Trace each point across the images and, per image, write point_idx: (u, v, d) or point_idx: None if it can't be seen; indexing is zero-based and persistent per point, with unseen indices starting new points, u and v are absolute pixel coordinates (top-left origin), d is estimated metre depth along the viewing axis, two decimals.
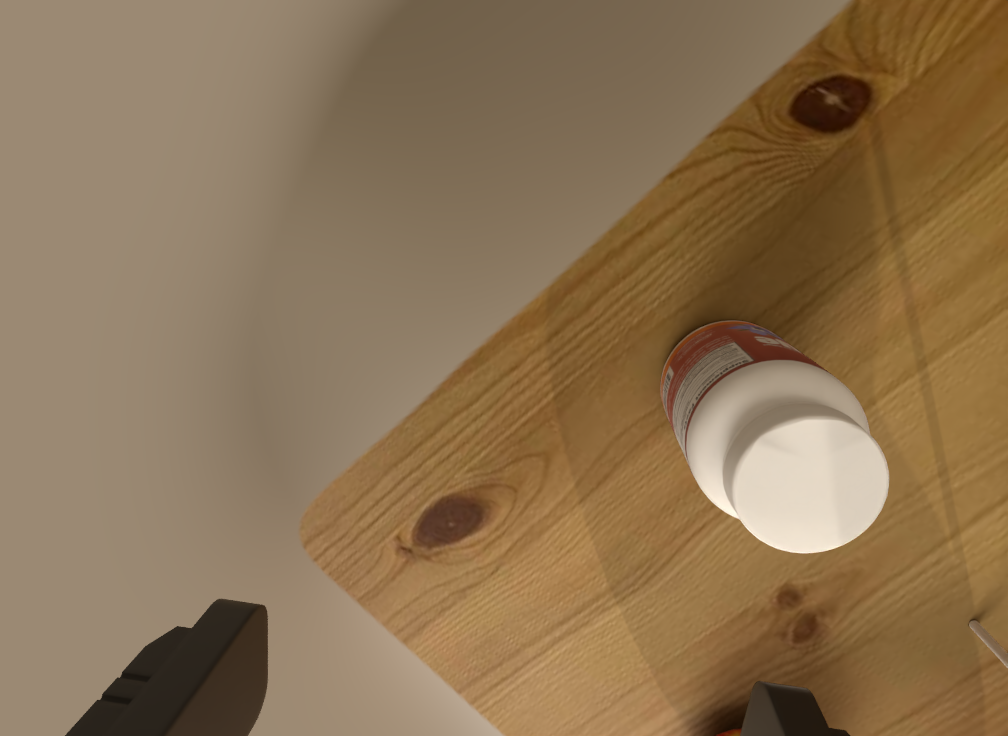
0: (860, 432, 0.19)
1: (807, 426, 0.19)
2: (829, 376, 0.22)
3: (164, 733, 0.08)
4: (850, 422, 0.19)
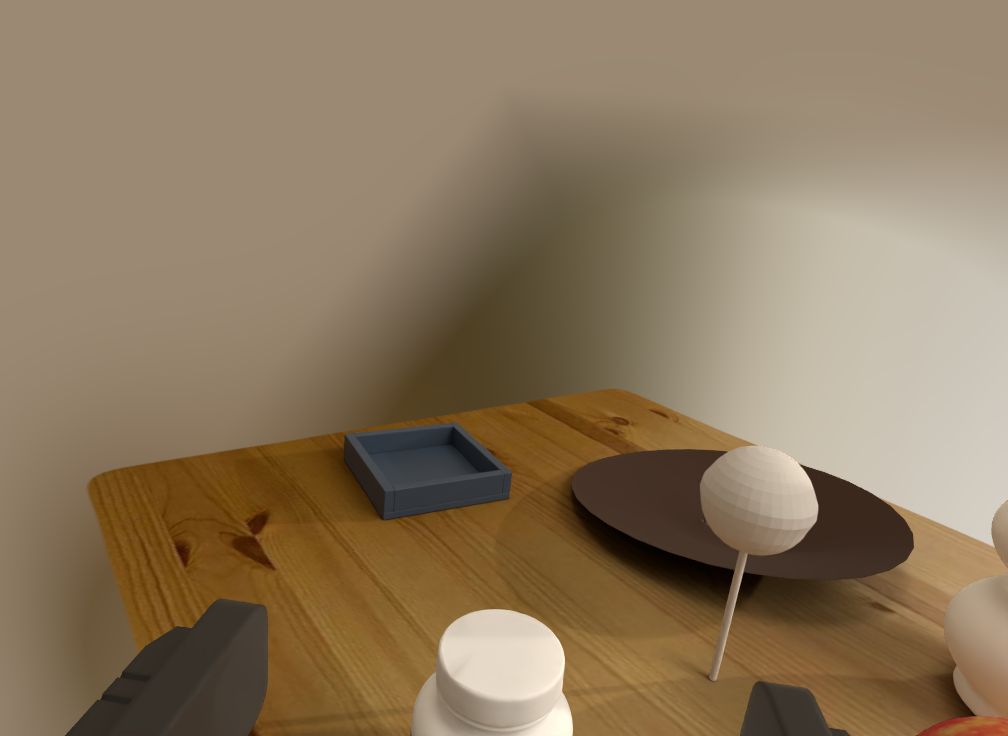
0: (458, 620, 0.25)
1: (447, 647, 0.24)
2: (431, 676, 0.26)
3: (164, 733, 0.08)
4: (449, 626, 0.25)
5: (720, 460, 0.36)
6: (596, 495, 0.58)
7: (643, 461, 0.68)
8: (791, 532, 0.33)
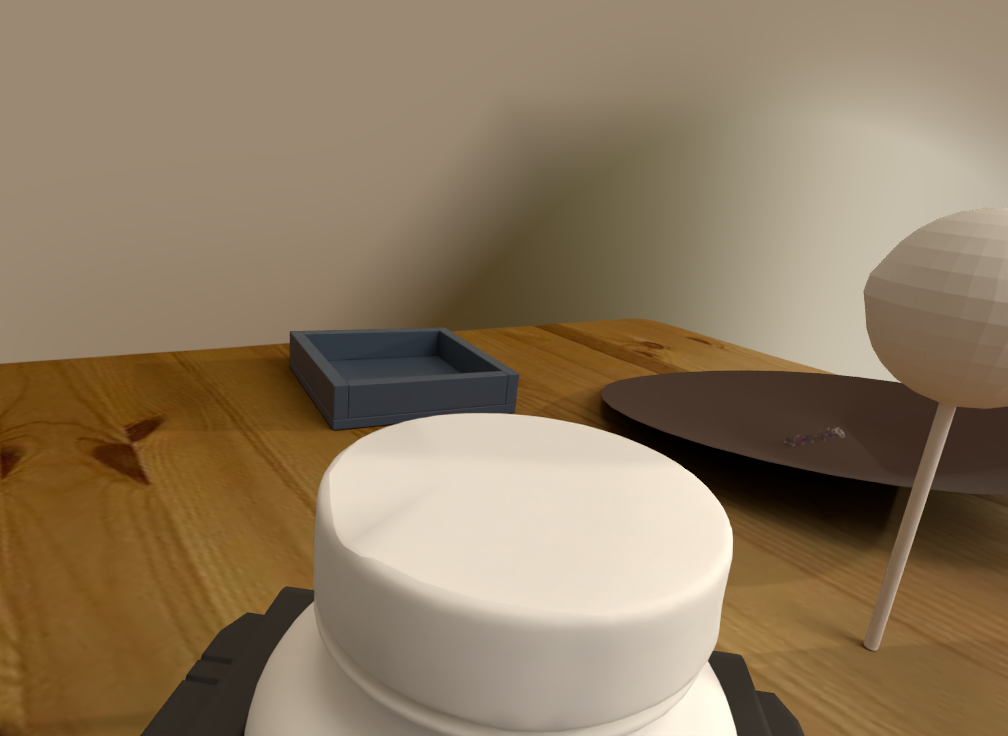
0: (397, 426, 0.09)
1: (349, 473, 0.07)
2: None
3: None
4: None
5: (910, 237, 0.19)
6: (636, 407, 0.42)
7: (690, 382, 0.52)
8: None
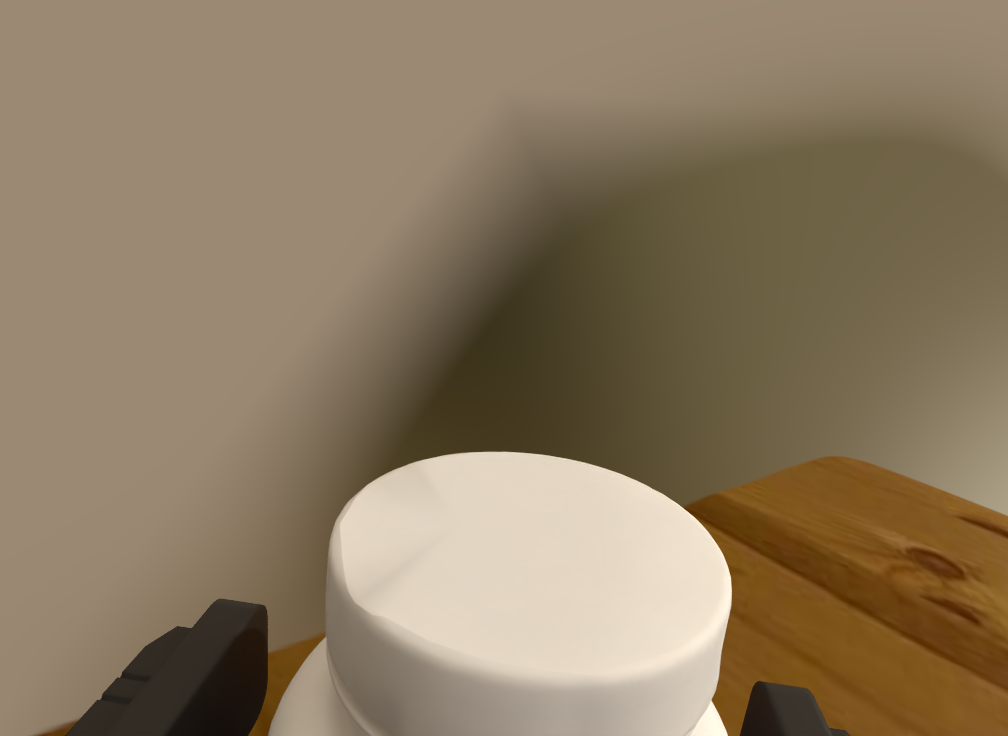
0: (404, 468, 0.09)
1: (360, 523, 0.08)
2: None
3: (164, 733, 0.08)
4: None
5: None
6: None
7: None
8: None
